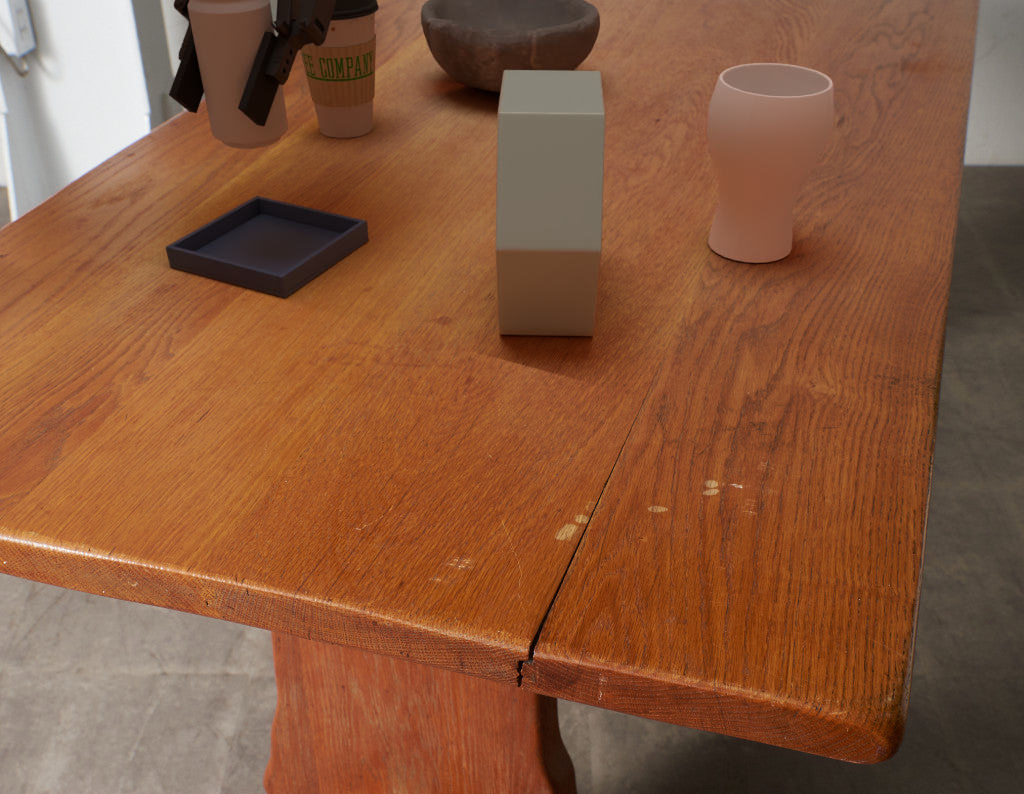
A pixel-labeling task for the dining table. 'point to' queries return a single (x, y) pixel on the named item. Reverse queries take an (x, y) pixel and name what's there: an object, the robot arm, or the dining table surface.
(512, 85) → the grey beige box
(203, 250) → the tray
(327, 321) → the dining table surface
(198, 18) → the beverage can
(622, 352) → the dining table surface
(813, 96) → the cup
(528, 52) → the bowl
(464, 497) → the dining table surface
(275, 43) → the robot arm
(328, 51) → the coffee cup
